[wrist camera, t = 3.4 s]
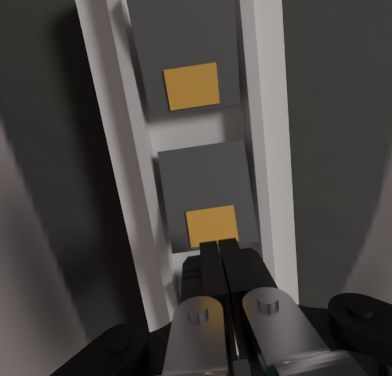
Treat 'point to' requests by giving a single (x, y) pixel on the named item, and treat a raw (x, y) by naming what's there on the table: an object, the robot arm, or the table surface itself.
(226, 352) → the robot arm
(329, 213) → the table surface
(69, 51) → the table surface
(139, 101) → the power strip
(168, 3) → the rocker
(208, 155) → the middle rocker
